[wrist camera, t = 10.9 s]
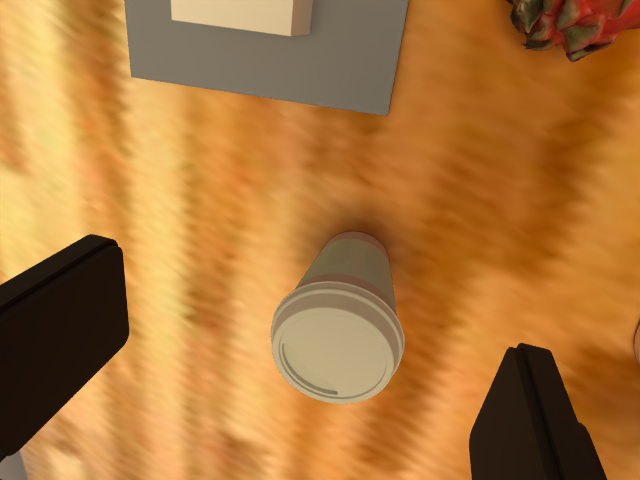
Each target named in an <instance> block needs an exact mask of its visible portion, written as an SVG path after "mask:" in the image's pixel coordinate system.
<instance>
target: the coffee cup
mask: <svg viewBox="0 0 640 480" xmlns="http://www.w3.org/2000/svg"><path fill="white" fill-rule="evenodd" d="M271 342H272V353H273V358H274V361H275V364H276V366H277V368H278V370H279V372H280V373H281V374H282V376H283V377H284V378H285V379H286V380H287V381H288V383H290V384H291V385H292V386H293V387H294V388H296V389H297V390H298V391H300V392H302V393H303V394H305V395H307V396H309V397H312V398H314V399H317V400H320V401H323V402H329V403H336V404H349V403H356V402H360V401H364V400H366V399H369V398H371V397H373V396H374V395H376V394H378V393H379V392H380V391H381V390H382V389H383V388H384V387H385V386H386V385H387V383H388V382H389V380H390V378H391V377H392V376H393V374H394V373H395V372H396V370H397V368H398V366H399V364H400V361H401V357H402V355H403V351H404V334H403V330H402V327H401V324H400V322H399V320H398V318H397V314H396V306H395V299H394V291H393V284H392V276H391V269H390V262H389V257H388V253H387V251H386V249H385V248H384V246H383V245H382V244H381V243H380V242H379V241H378V240H377V239H376V238H374V237H372V236H371V235H368V234H366V233H362V232H356V231H350V232H344V233H341V234H338V235H336V236H334V237H333V238H331V239H330V240H329V241H328V242H327V244H326V245H325V246H324V248H323V249H322V251H321V252H320V253H319V255H318V256H317V258H316V259H315V261H314V262H313V264H312V265H311V266H310V268H309V269H308V271H307V272H306V274H305V275H304V277H303V278H302V279H301V281H300V282H299V284H298V285H297V287H296V288H295V290H294V291H293V292H291V293H290V294H288V295H287V296H286V297H285V298H284V299H283V300H282V301H281V303H280V304H279V305H278V307H277V309H276V311H275V314H274V317H273V321H272V327H271Z"/></svg>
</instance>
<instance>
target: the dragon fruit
mask: <svg viewBox="0 0 640 480" xmlns="http://www.w3.org/2000/svg"><path fill="white" fill-rule="evenodd" d="M506 1H507V2H509V3H511V4H514V6H513V9H512V12H511V15H510V16H511V20H512V23H513V25H514V26H515V27H516V29H517V30H518V32H520V33H521V34H522V33H525V36H526V38H527V42H526V44H522V45H524V46H526V49H532V50H534V51H543V50H547V49H550V48H552V47H553V46H557V45H560V44H561V43H563V47H564V50H565V51H566V56H567V57H568V59H569V60H570V61H571V62H575V61H578V60H579V59H581V58H583V57H585V56H586V55H588V54H591V53H593V52H596V51H599V50H602V49H604V48H606V47H608V46H610V45H611V44H612V43H613V42H614V41H615V39H616V37H617V36H618V35H619V33H621V32H622V31H624V30H626V29H637V28H640V0H506Z"/></svg>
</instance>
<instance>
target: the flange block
mask: <svg viewBox="0 0 640 480" xmlns="http://www.w3.org/2000/svg"><path fill="white" fill-rule="evenodd" d="M312 5H313V0H171V15H172V20H176V21H184V22H191V23H198V24H205V25H213V26H220V27H227V28H235V29H242V30H249V31H256V32H264V33H271V34H278V35H286V36H299V35H310V26H311V15H312Z"/></svg>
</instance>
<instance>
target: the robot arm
mask: <svg viewBox="0 0 640 480" xmlns="http://www.w3.org/2000/svg"><path fill="white" fill-rule="evenodd" d="M128 336H129V322H128V310H127V298H126V286H125V274H124V262H123V252H122V249H121V248H120V247H118V244H117V242H116V241H115V240H113V239H110V238H106V237H102V236H98V235H93V234H90V235H87V236H85V237H84V238H82V239H80V240H78V241H77V242H75V243H73V244H71V245H70V246H68V247H66V248H64V249H63V250H61V251H59V252H57V253H56V254H54V255H52V256H50V257H49V258H47V259H45V260H43V261H42V262H40V263H38V264H36V265H35V266H33V267H31V268H29V269H28V270H26V271H24V272H22V273H21V274H19V275H17V276H15V277H14V278H12V279H10V280H8V281H7V282H5V283H3V284H1V285H0V462H1V461H2V460H3V459H4V458H5V457H6V456H10V455H13V454H14V453H16V452H17V451H19V450H20V449H21V448H22V447H23V446H24V445H25V444H26V443H27V442H28V441H29V440H30V439H31V438H32V437H33V436H34V435H35V434H36V433H37V432H38V431H39V430H40V429H41V428H42V427H43V426H44V425H45V424H46V423H47V422H48V421H49V420H50V419H51V418H52V417H53V416H54V415H55V414H56V413H57V412H58V411H59V410H60V409H61V408H62V407H63V406H64V405H65V404H66V403H67V402H68V401H69V400H70V399H71V398H72V397H73V396H74V395H75V394H76V393H77V392H78V391H79V390H80V389H81V388H82V387H83V386H84V385H85V384H86V383H87V382H88V381H89V380H90V379H91V378H92V377H93V376H94V375H95V374H96V373H97V372H98V371H99V370H100V369H101V368H102V367H103V366H104V365H105V364H106V363H107V362H108V361H109V360H110V359H111V358H112V357H113V356H114V355H115V354H116V353H117V352H118V351H119V350H120V349H121V348H122V347H123V346H124V345H125V343H126V341H127V339H128ZM634 349H635V355H636V359H637V361H638V363H639V365H640V324H639V327H638V330H637V332H636V335H635V343H634ZM469 452H470V463H471V474H472V480H607V478H606V475H605V472H604V470H603V467H602V465H601V462H600V460H599V457H598V455H597V452H596V450H595V447H594V445H593V442H592V440H591V437H590V435H589V433H588V431H587V429H586V427H585V426H584V425H582V424H581V423H579V422H578V421H577V418H576V415H575V413H574V410H573V408H572V405H571V402H570V400H569V397H568V394H567V392H566V389H565V387H564V384H563V381H562V379H561V376H560V373H559V371H558V368H557V365H556V363H555V360H554V358H553V355H552V353H551V351H550V350H548V349H544V348H540V347H536V346H532V345H528V344H524V343H520V344H519V345H518V346H517V348H513V347H509V348H508V349H507V351H506V353H505V355H504V358H503V360H502V362H501V364H500V367H499V369H498V371H497V374H496V376H495V378H494V380H493V383H492V385H491V387H490V389H489V392H488V394H487V396H486V398H485V401H484V403H483V405H482V408H481V410H480V412H479V414H478V417H477V419H476V421H475V423H474V426H473V428H472V430H471V434H470V439H469ZM0 480H2V479H0Z"/></svg>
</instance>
